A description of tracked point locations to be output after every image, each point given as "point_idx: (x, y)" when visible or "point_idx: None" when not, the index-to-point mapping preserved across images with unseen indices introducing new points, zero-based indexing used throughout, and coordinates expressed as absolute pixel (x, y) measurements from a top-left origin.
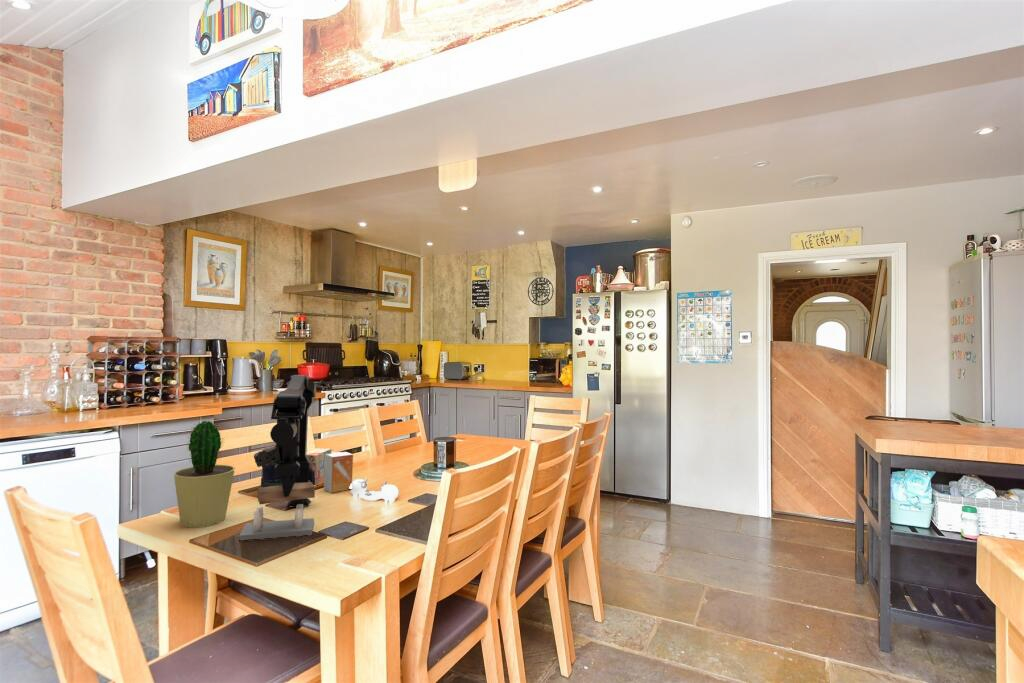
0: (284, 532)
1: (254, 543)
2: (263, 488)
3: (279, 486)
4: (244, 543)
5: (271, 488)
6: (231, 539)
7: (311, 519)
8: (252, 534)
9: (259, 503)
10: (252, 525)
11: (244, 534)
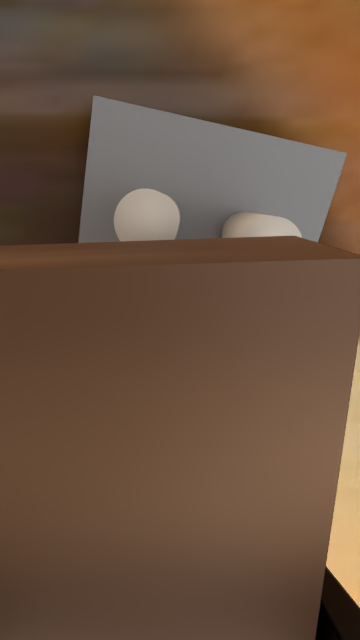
0: None
1: (38, 196)
2: (252, 356)
3: (255, 575)
4: (56, 140)
5: (178, 474)
6: (160, 57)
7: None
8: (84, 185)
9: (25, 245)
10: (270, 192)
11: (104, 133)
